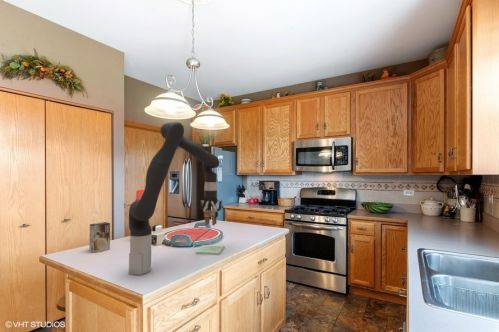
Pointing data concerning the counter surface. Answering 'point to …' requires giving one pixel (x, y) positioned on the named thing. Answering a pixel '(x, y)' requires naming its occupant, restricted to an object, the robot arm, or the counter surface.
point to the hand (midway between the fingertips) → (210, 217)
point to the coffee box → (99, 237)
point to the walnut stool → (210, 214)
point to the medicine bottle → (157, 235)
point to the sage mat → (210, 249)
